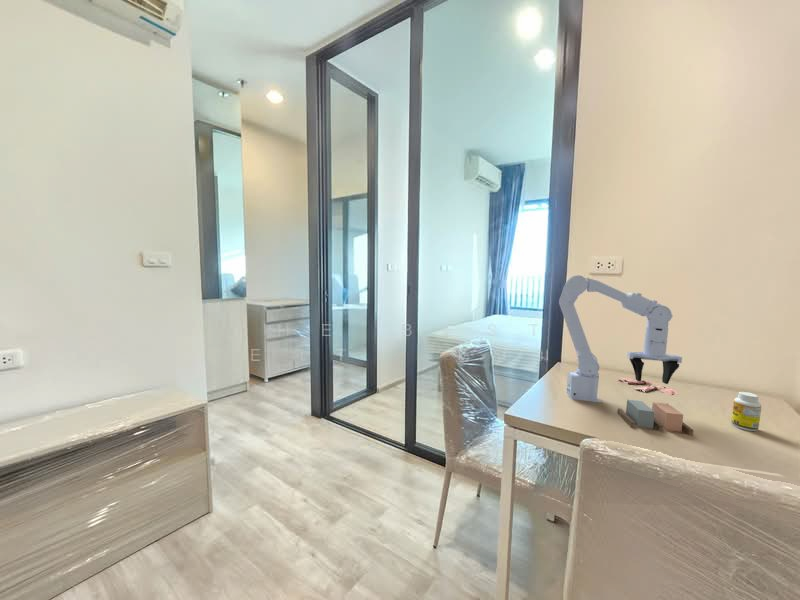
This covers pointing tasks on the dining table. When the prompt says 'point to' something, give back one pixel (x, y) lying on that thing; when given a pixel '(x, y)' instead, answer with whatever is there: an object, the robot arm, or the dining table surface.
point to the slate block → (640, 413)
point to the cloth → (649, 387)
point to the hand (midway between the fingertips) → (651, 381)
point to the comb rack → (656, 426)
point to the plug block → (668, 416)
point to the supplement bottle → (746, 411)
